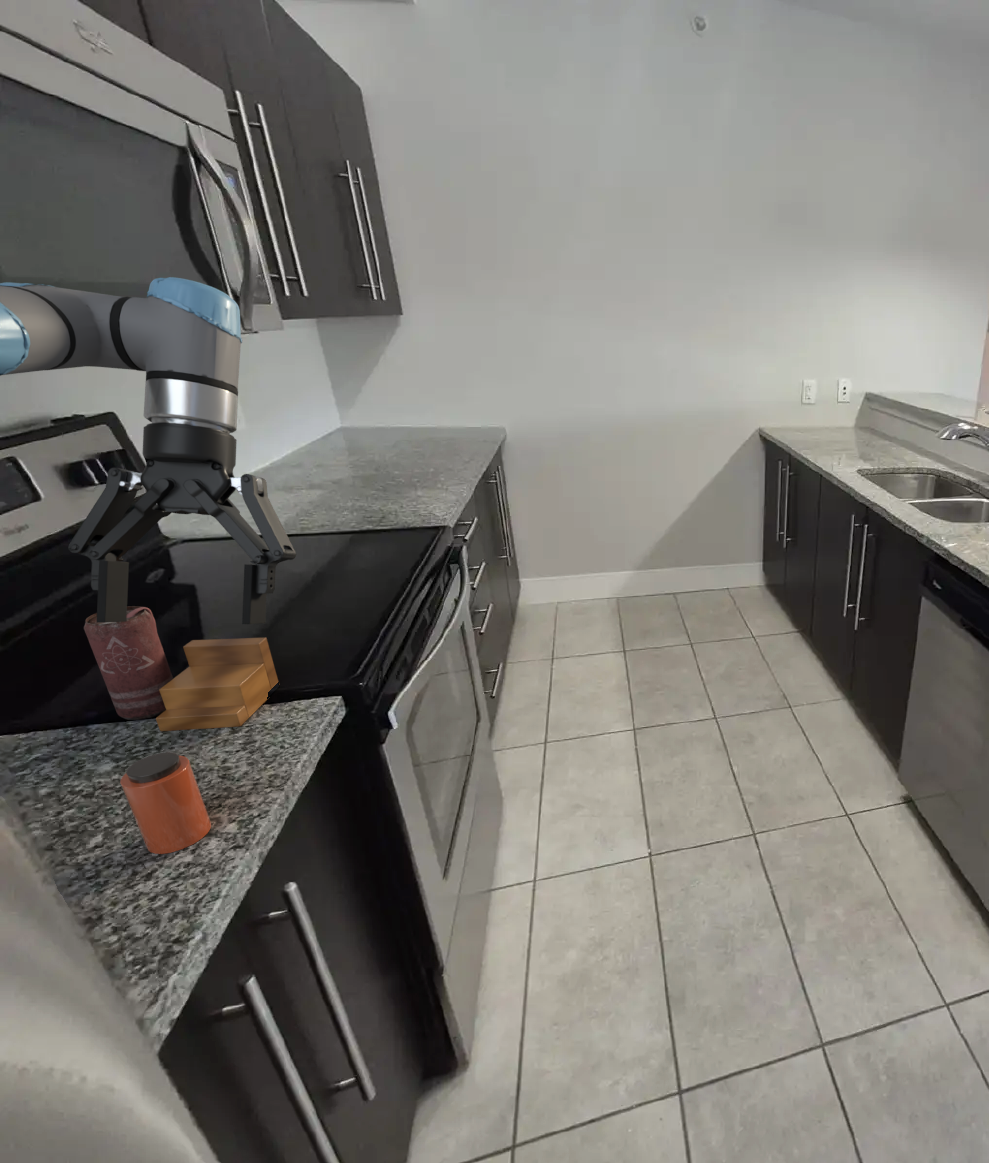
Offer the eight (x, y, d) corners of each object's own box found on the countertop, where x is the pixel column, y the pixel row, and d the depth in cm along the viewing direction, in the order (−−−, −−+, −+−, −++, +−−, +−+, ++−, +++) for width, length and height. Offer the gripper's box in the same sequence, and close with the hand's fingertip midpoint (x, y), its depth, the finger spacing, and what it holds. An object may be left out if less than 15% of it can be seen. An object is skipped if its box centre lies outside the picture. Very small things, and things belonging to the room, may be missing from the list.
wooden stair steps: (160, 731, 81) (140, 677, 78) (208, 690, 90) (192, 640, 88) (240, 726, 83) (224, 673, 80) (280, 686, 92) (266, 637, 89)
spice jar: (134, 856, 63) (103, 783, 60) (168, 820, 68) (141, 750, 64) (192, 851, 64) (165, 778, 61) (222, 816, 69) (198, 746, 65)
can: (193, 700, 88) (162, 608, 83) (137, 725, 82) (100, 628, 77) (164, 691, 90) (131, 600, 84) (107, 714, 84) (69, 618, 79)
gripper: (334, 443, 76) (328, 622, 75) (90, 430, 71) (81, 619, 71) (298, 427, 68) (291, 626, 68) (23, 411, 64) (13, 622, 64)
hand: (184, 623), depth 69 cm, fingers open, 13 cm apart
